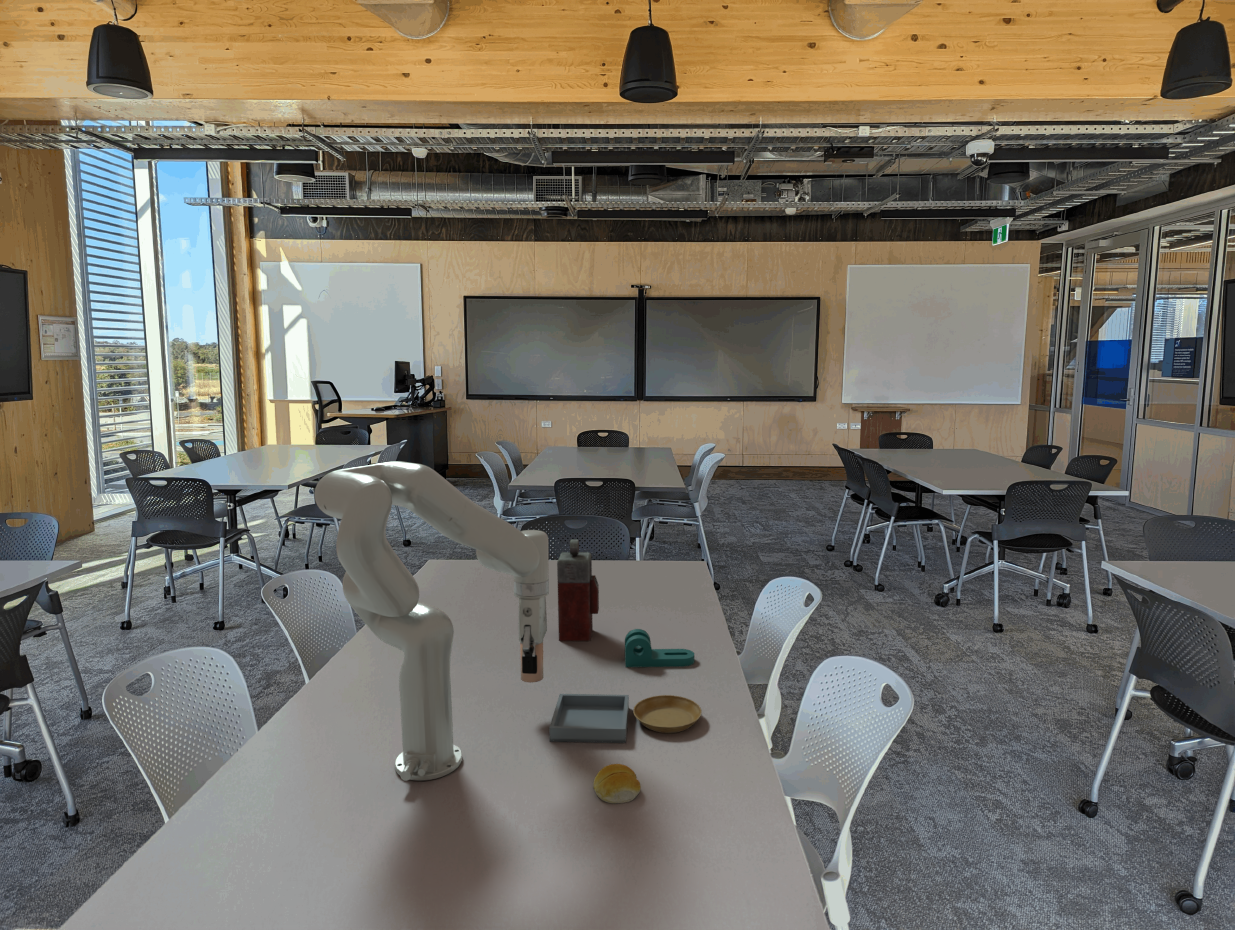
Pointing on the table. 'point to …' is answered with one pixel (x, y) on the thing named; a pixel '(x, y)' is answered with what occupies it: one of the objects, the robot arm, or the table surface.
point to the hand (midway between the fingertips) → (532, 667)
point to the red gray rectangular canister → (576, 594)
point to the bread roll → (616, 784)
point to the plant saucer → (667, 713)
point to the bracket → (653, 653)
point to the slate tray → (590, 718)
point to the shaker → (539, 674)
